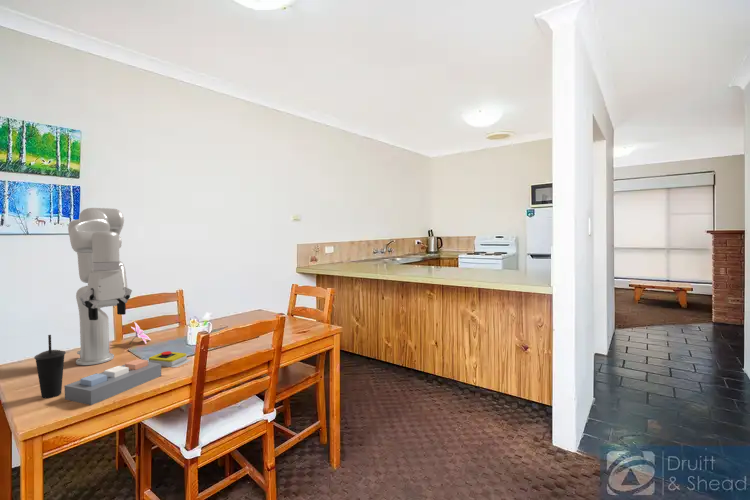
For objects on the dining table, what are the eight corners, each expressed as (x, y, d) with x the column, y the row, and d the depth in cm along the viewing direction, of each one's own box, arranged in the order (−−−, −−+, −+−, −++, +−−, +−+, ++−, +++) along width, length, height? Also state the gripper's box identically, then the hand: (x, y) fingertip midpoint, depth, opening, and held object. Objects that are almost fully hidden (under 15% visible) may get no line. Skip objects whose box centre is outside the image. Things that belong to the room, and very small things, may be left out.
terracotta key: (125, 371, 133) (125, 363, 132) (138, 366, 137) (137, 359, 137) (135, 373, 131) (135, 365, 131) (148, 368, 136) (147, 360, 136)
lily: (134, 350, 170) (146, 331, 172) (113, 339, 171) (125, 320, 173) (150, 350, 181) (161, 332, 183) (131, 340, 183) (142, 322, 185)
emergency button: (162, 348, 158) (192, 350, 154) (162, 358, 158) (192, 361, 155) (144, 354, 149) (175, 358, 145) (144, 365, 149) (175, 368, 146)
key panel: (64, 399, 117) (64, 385, 117) (137, 371, 141) (137, 360, 141) (91, 405, 113) (90, 390, 113) (161, 375, 137) (161, 363, 137)
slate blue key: (80, 388, 118) (80, 378, 118) (96, 382, 123) (96, 373, 123) (91, 390, 117) (91, 380, 117) (107, 384, 122) (107, 375, 121)
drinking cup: (48, 390, 124) (46, 332, 123) (72, 390, 124) (70, 331, 124) (29, 400, 116) (26, 338, 115) (54, 400, 117) (52, 338, 116)
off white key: (104, 379, 126) (103, 370, 125) (118, 374, 130) (118, 365, 130) (114, 381, 124) (114, 372, 124) (128, 375, 129) (128, 367, 129)
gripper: (122, 265, 135) (123, 312, 135) (71, 269, 119) (73, 321, 119) (137, 265, 133) (139, 312, 133) (88, 269, 116) (89, 322, 117)
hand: (108, 317), depth 126 cm, fingers open, 9 cm apart
